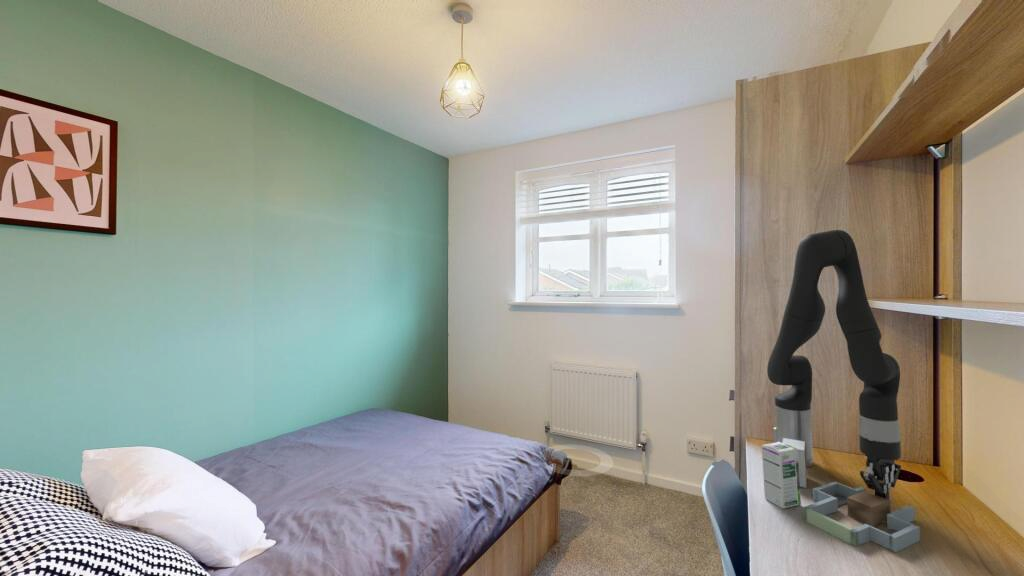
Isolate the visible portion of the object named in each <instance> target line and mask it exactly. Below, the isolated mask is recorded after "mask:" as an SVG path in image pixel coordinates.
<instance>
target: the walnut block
mask: <svg viewBox="0 0 1024 576" xmlns="http://www.w3.org/2000/svg"><path fill="white" fill-rule="evenodd" d="M847 502H848V503H847V516H848V517H850V518H852V519H854V520H856V521H857V522H858V521H859V522H861V523H862V524H868V525H870V526H872V527H874V528H875V527H876V526H879V525H880V524H883V523H887V514H890V513H891V500H890V499H889V500H888V499H885V498H882V497H880V496H877V495H875V493H872V492H869V491H866V490H865V491H863V492H861V493H858V494H855V495H852V496H850V497H847Z"/></svg>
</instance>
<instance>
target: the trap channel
mask: <svg viewBox="0 0 1024 576" xmlns="http://www.w3.org/2000/svg"><path fill="white" fill-rule="evenodd" d="M863 491H866V489H865V487H862V486H858V487H856V488H853V487H851V486H848V485H845V484H844V483H840V482H837V481H831V482H829V483H826V484H823V485H819V486H817V487H814V488H812V499H813V501H814V503H811V504H809V505H808V504H807V505H806V506H803V507H802V508H801V509H802V520H803V521H804V522H806V523H808V524H810V525H812V526H814V527H816V528H818V529H820V530H822V531H824V532H826V533H828V534H831V535H832V536H834V537H836V538H838V539H840V540H841V541H844V542H846V543H848V544H849V545H852V546H854V547H859V546H860V545H863V544H865V543H867V542H869V541H870V542H873V543H875V544H877V545H878V546H879V545H880V546H881V547H884V548H885V549H888V550H890V551H892V552H895V553H898V552H900V551H901V550H904V549H906V548H907V547H911V546H912V545H913V544H916V543H918V542H920V541H921V536H920V535H921V533H920V526H918V525H916V524H913V523H912V522H915V521H916V507H914V506H912V505H907V506H903V507H902V508H900V509H896V510H895V511H893V512H890V514H887V521H886V524H887V526H886V527H887V529H889V530H887V531H883V530H881V529H879V528H876V527H875V526H874V527H872V526H870V525H868V524H865V523H862V525H859V526H856V527H854V528H851V527H850V526H847V525H845V524H843V523H841V522H839V521H838V520H835V519H833V518H830V517H829V516H827V515H829V514H830V515H831V514H832V513H835V512H837V511H839V507H841V506H844V505H848V502H847V497H850V496H852V495H855V494H858V493H861V492H863Z"/></svg>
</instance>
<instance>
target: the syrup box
mask: <svg viewBox="0 0 1024 576" xmlns="http://www.w3.org/2000/svg"><path fill="white" fill-rule="evenodd" d="M761 455H762V456H761V457H762V458H761V459H762V474H763V490H764V499H766V501H768V502H770V503H772V504H774V505H776V506H777V507H779V508H781V509H783V510H786V509H787V508H792V507H796V506H801V505H802V501H801V500H802V499H801V487H800V481H799V464H798V450H797V449H796V448H794V447H792V446H790V445H787V444H785V443H781V442H776V443H774V442H772V443H766V444H764V443H763V444H762V445H761Z"/></svg>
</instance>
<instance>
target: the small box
mask: <svg viewBox="0 0 1024 576" xmlns="http://www.w3.org/2000/svg"><path fill="white" fill-rule="evenodd" d="M782 443H785V444H787V445H790V446H792V447H794V448H796V449H797V450H798V464H799V481H800V488H804V489H806V488H808V487H807V482H808V481H807V479H808V473H807V467H806V443H805V441H799V440H793V439H786V438H783V441H782Z"/></svg>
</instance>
